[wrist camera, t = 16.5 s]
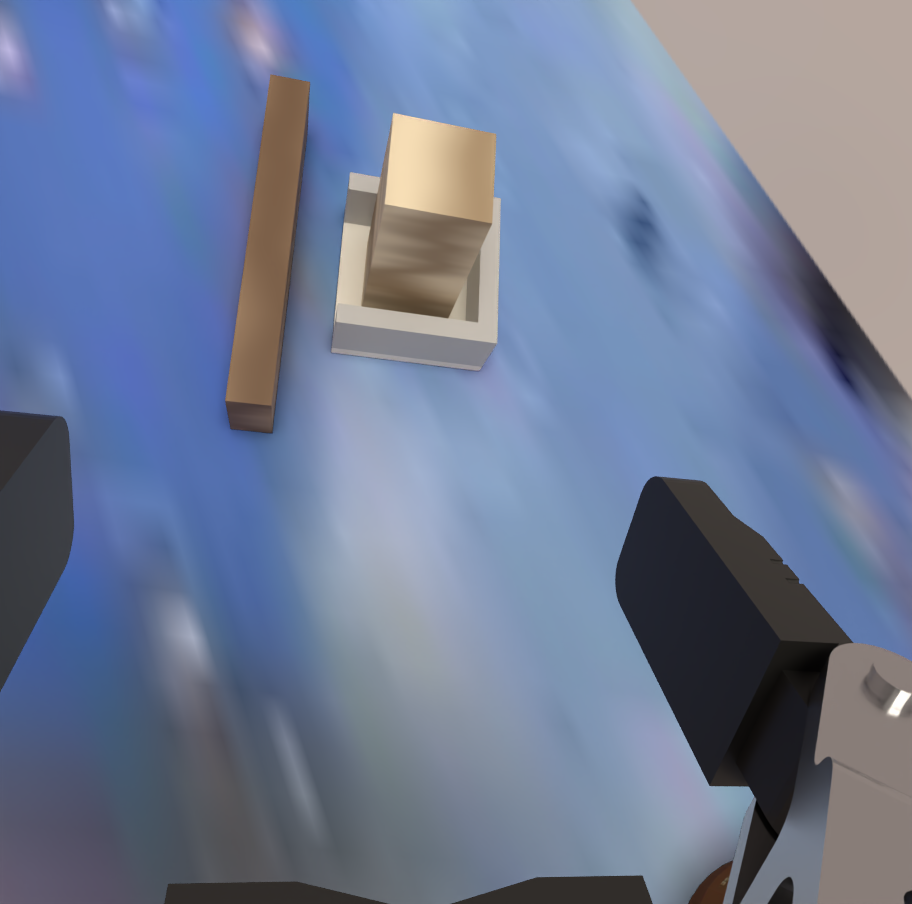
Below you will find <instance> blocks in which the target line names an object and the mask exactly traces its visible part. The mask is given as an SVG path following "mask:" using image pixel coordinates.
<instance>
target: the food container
mask: <svg viewBox="0 0 912 904" xmlns="http://www.w3.org/2000/svg"><path fill="white" fill-rule="evenodd" d="M732 864H733V861H731V862H729V863H727V864H724V865H722V866H721V867H719V868H718V869H717V870H715V871H714V872H713V873H711V874H710V875H709V876H708V877H707V878H706V879H705V880H704V881H703V882H702V883H701V884H700V886H699V887H698V889H697V890H696V892H695V893H694V894H693V896H692V897H691V899H690V901H689V903H688V904H723V901H724V897H725V893H726V889H727V885H728V881H729V877H730V873H731V869H732Z"/></svg>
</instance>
